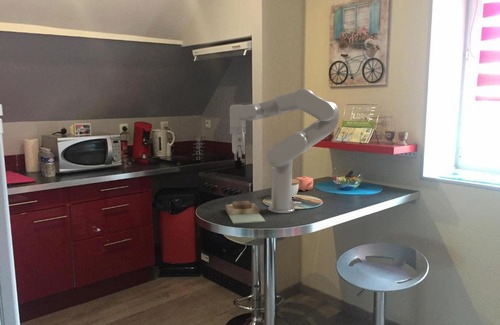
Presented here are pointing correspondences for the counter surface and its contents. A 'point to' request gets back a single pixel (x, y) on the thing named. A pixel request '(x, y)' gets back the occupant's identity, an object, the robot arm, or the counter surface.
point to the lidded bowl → (295, 187)
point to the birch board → (242, 210)
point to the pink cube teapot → (305, 183)
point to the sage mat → (246, 218)
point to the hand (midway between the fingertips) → (238, 168)
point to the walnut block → (242, 205)
